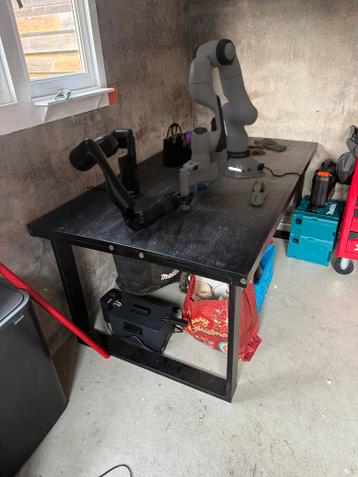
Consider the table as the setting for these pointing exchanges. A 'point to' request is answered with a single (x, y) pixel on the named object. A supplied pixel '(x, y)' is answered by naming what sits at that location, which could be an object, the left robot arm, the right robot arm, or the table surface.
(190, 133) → the decorative orb
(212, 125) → the boot
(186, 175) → the bottle
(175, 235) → the table surface
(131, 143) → the left robot arm
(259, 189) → the ballet flat
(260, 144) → the pair of gloves
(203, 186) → the lid
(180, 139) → the handbag
